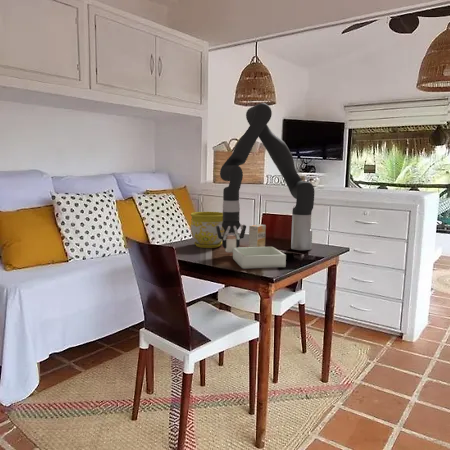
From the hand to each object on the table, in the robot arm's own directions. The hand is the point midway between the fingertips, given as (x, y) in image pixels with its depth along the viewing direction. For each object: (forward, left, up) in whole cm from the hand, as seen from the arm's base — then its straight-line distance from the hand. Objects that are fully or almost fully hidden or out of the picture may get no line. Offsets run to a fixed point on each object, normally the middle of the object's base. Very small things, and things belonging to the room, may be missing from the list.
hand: (230, 247), depth 193 cm
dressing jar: (0, 0, -2) cm, 2 cm away
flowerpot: (+6, -25, -4) cm, 26 cm away
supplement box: (-14, -5, -4) cm, 15 cm away
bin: (-9, +15, -4) cm, 18 cm away
